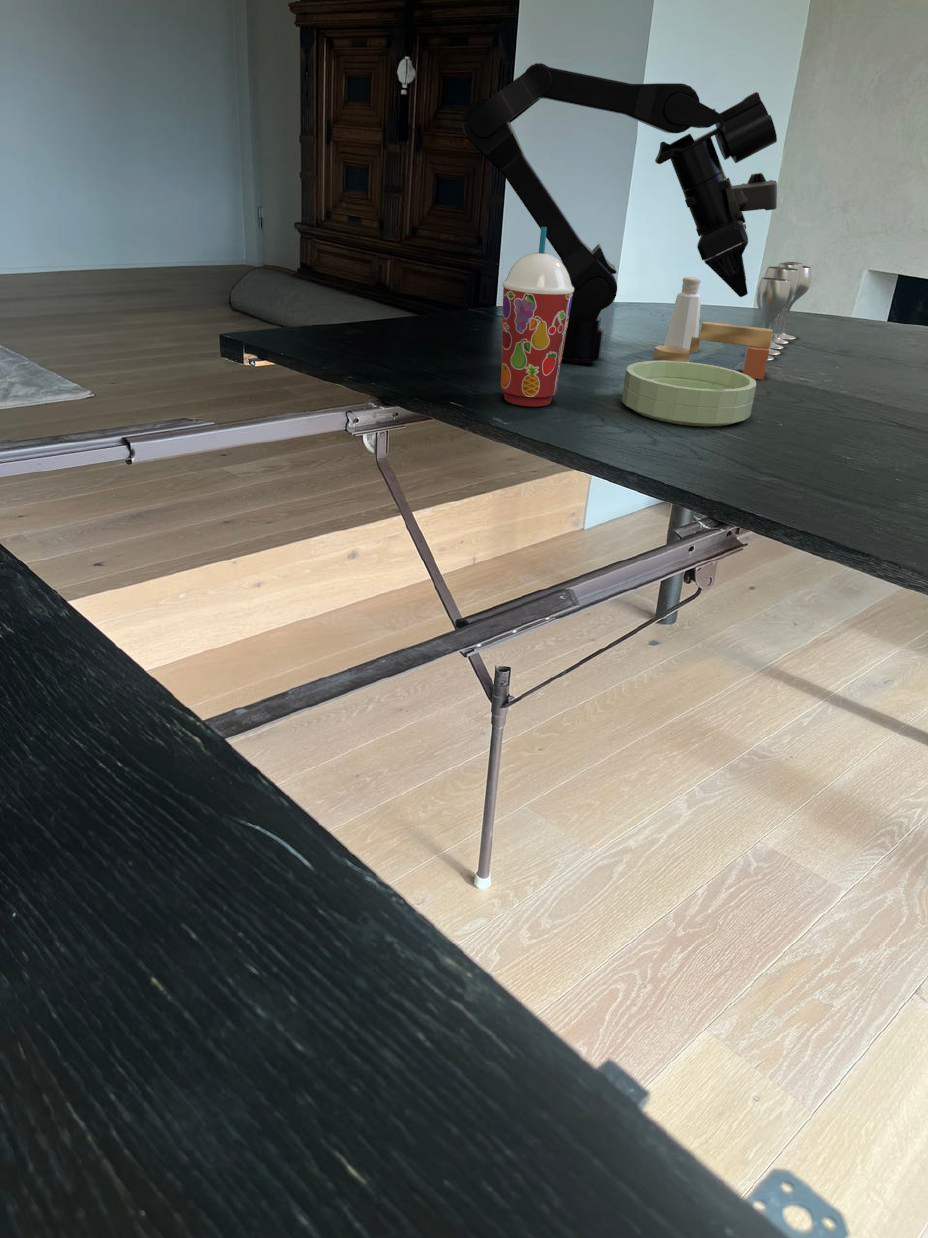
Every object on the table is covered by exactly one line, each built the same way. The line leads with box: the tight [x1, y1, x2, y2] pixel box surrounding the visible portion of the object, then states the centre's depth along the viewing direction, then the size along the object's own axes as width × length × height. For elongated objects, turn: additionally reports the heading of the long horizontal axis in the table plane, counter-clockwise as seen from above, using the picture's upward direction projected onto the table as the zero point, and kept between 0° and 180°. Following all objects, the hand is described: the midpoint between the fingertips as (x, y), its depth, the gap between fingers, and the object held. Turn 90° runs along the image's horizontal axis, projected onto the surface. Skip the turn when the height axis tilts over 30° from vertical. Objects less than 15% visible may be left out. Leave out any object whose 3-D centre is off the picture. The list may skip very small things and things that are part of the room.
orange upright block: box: [741, 345, 770, 381], centre depth 140 cm, size 3×5×4 cm, turn 167°
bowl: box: [621, 360, 757, 427], centre depth 118 cm, size 16×16×4 cm
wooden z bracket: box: [652, 320, 774, 362], centre depth 140 cm, size 16×5×7 cm, turn 77°
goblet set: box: [756, 261, 813, 361], centre depth 160 cm, size 28×6×13 cm, turn 154°
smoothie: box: [500, 227, 574, 408], centre depth 113 cm, size 8×8×20 cm
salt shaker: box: [663, 276, 702, 354], centre depth 152 cm, size 5×5×11 cm
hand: (743, 288), depth 135 cm, fingers open, 9 cm apart
